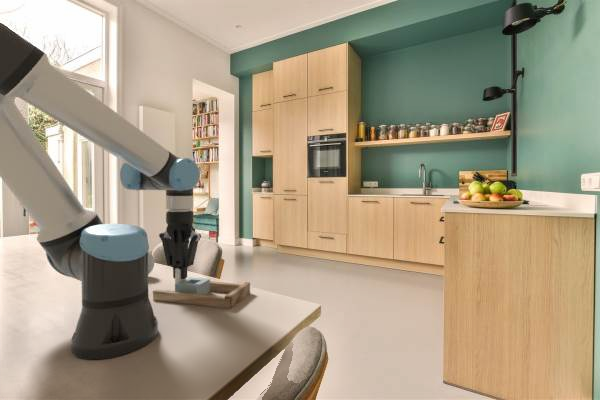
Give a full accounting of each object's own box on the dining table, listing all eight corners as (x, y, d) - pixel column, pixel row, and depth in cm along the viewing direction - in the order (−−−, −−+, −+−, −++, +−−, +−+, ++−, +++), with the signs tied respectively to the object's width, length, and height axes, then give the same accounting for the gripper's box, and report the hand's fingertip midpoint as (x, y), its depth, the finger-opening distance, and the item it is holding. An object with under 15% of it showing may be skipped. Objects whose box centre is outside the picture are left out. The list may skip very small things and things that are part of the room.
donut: (156, 276, 108) (156, 248, 107) (150, 278, 104) (150, 250, 104) (130, 275, 109) (130, 247, 108) (124, 277, 105) (123, 249, 105)
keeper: (196, 300, 84) (196, 286, 84) (175, 297, 86) (174, 284, 86) (210, 292, 91) (209, 279, 91) (189, 290, 93) (189, 277, 92)
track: (229, 308, 78) (229, 296, 78) (153, 299, 84) (152, 288, 84) (250, 293, 90) (250, 282, 90) (181, 286, 96) (181, 276, 96)
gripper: (206, 210, 90) (206, 287, 91) (169, 209, 94) (169, 283, 94) (191, 211, 83) (191, 295, 84) (152, 210, 86) (152, 291, 87)
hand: (180, 289), depth 89 cm, fingers closed
